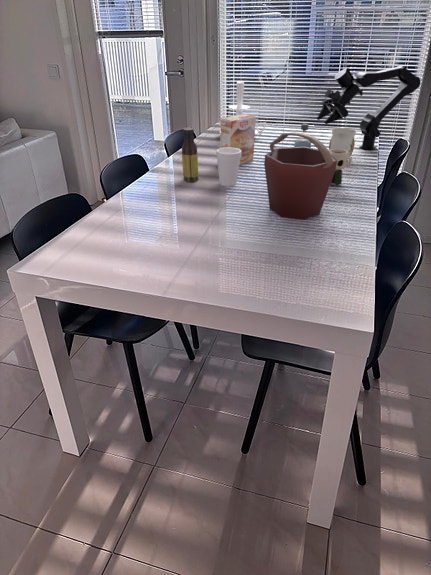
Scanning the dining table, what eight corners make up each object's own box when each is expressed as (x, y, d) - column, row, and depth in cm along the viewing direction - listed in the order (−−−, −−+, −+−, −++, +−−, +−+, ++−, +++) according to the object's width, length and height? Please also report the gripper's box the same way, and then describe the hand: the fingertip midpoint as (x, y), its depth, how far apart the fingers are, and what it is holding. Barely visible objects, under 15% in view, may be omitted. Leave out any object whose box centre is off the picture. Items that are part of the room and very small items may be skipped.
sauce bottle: (198, 177, 177) (197, 126, 166) (198, 182, 171) (197, 130, 161) (182, 177, 176) (181, 126, 166) (182, 182, 171) (180, 130, 160)
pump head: (303, 130, 207) (303, 123, 205) (309, 131, 205) (310, 124, 203) (299, 131, 205) (299, 124, 203) (305, 132, 203) (306, 125, 201)
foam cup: (243, 182, 172) (245, 149, 165) (234, 189, 165) (235, 155, 158) (221, 178, 176) (222, 146, 168) (212, 185, 168) (212, 152, 161)
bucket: (251, 201, 155) (255, 129, 141) (303, 193, 162) (312, 124, 149) (286, 228, 136) (295, 148, 122) (344, 217, 143) (358, 140, 130)
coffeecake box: (229, 167, 188) (231, 120, 177) (219, 164, 192) (219, 118, 182) (254, 161, 196) (256, 116, 186) (243, 157, 201) (245, 113, 190)
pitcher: (353, 155, 205) (358, 125, 198) (349, 166, 191) (355, 134, 183) (330, 153, 208) (334, 123, 201) (324, 163, 194) (329, 132, 186)
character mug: (318, 185, 170) (322, 152, 163) (320, 179, 175) (324, 147, 168) (346, 188, 167) (352, 154, 160) (347, 182, 173) (353, 149, 166)
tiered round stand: (298, 146, 218) (299, 135, 215) (320, 151, 211) (322, 139, 208) (283, 151, 210) (284, 139, 207) (305, 157, 203) (307, 144, 200)
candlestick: (261, 144, 221) (265, 84, 206) (215, 141, 226) (215, 82, 211) (267, 135, 238) (271, 79, 223) (224, 132, 243) (225, 77, 228)
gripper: (329, 79, 204) (304, 105, 208) (346, 85, 189) (319, 112, 193) (341, 97, 210) (317, 121, 214) (359, 104, 194) (333, 130, 199)
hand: (321, 121), depth 205 cm, fingers open, 9 cm apart
